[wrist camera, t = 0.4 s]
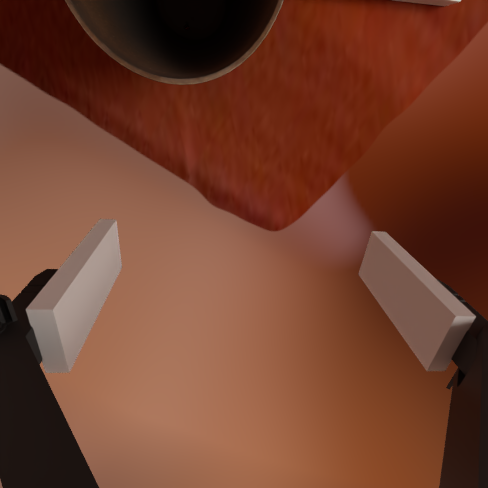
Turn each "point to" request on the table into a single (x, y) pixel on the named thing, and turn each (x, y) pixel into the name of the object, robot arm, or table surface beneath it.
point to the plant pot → (177, 34)
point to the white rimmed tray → (432, 2)
